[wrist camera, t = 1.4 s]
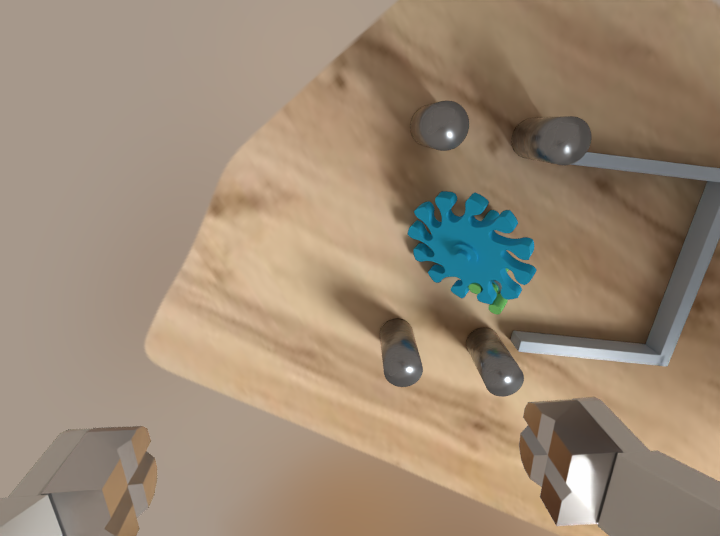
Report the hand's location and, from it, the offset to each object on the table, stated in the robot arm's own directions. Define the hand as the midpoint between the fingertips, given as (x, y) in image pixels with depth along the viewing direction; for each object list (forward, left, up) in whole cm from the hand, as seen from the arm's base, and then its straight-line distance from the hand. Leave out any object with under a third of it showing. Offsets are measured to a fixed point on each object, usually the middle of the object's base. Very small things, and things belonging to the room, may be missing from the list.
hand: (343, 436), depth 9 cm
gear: (-9, +2, -27) cm, 28 cm away
